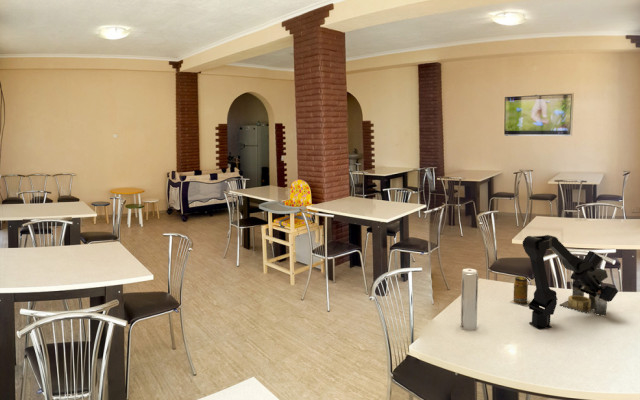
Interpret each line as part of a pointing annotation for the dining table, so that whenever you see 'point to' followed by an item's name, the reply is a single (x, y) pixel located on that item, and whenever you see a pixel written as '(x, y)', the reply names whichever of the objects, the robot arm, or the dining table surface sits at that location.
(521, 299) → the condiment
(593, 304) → the collar stand
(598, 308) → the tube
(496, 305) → the dining table surface
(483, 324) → the dining table surface
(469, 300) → the silver cylinder
